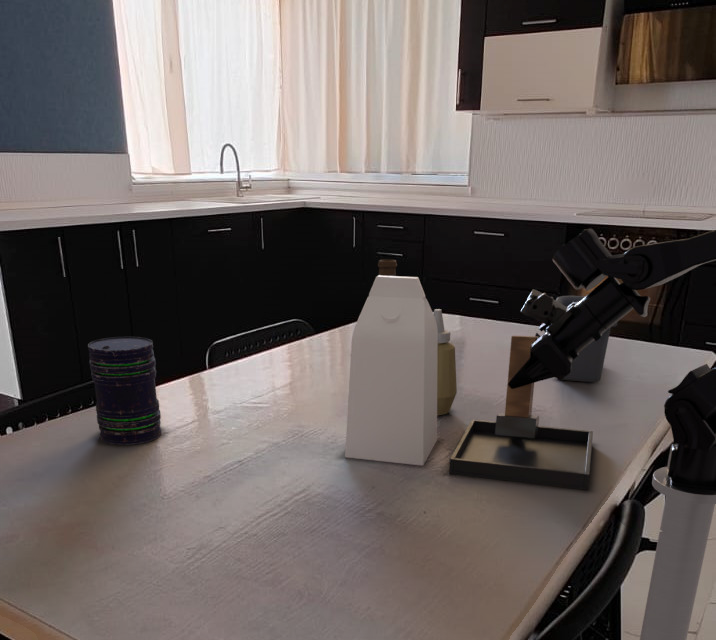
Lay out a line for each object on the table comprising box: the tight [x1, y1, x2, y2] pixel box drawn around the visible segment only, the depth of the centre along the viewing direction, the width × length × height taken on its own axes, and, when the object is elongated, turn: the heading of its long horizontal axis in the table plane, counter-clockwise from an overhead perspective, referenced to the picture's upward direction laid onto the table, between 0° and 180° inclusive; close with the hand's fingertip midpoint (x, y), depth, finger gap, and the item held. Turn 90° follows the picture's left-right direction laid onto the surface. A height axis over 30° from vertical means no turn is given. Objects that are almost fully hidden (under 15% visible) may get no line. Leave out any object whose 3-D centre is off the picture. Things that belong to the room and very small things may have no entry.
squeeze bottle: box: [433, 308, 458, 416], centre depth 134 cm, size 8×8×18 cm
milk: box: [344, 274, 438, 466], centre depth 115 cm, size 12×12×26 cm
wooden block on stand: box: [495, 335, 540, 438], centre depth 118 cm, size 6×4×15 cm, turn 70°
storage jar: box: [87, 336, 163, 446], centre depth 122 cm, size 10×10×15 cm
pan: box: [448, 419, 594, 491], centre depth 116 cm, size 19×19×2 cm
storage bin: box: [541, 295, 619, 383], centre depth 161 cm, size 21×16×14 cm
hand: (511, 383), depth 118 cm, fingers closed on wooden block on stand, 4 cm apart
